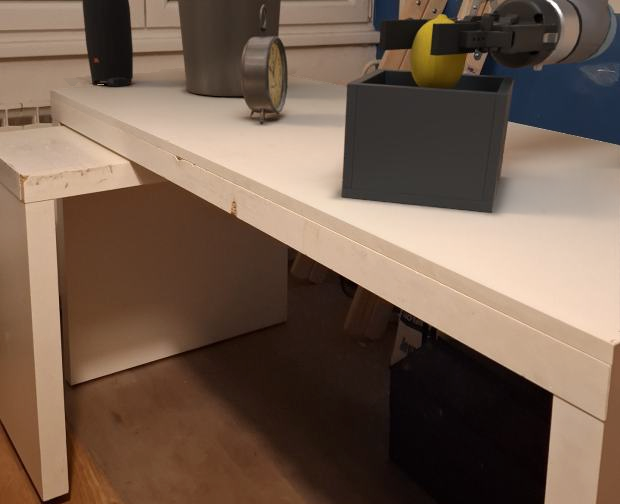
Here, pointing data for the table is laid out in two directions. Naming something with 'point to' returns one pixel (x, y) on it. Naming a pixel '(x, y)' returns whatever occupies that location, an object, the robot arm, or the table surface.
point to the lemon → (434, 60)
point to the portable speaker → (109, 41)
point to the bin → (425, 140)
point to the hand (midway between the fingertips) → (408, 37)
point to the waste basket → (221, 40)
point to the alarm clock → (264, 73)
